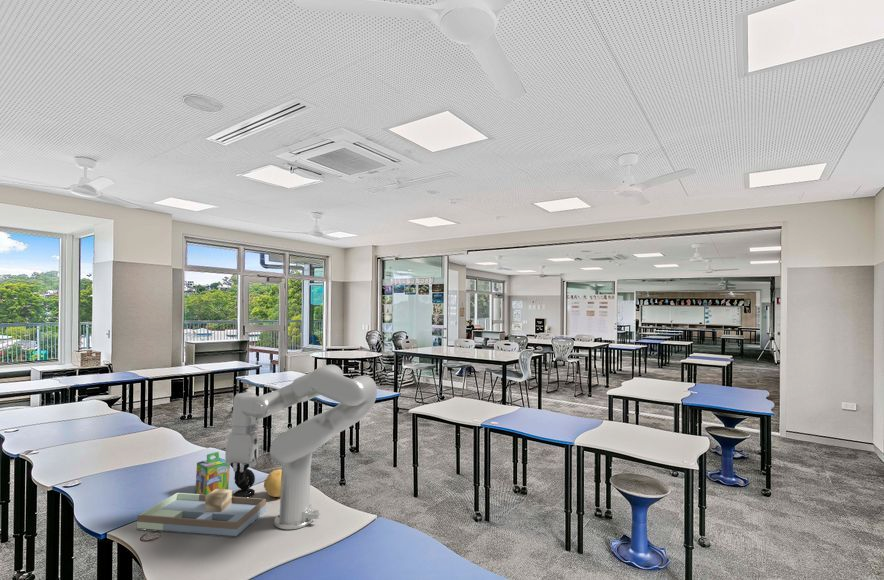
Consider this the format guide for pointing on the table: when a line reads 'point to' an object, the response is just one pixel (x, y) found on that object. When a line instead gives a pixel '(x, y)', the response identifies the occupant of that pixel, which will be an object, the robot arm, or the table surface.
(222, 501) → the block
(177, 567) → the table surface
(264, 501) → the box
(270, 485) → the stress ball
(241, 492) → the webcam
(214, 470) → the chalk box
